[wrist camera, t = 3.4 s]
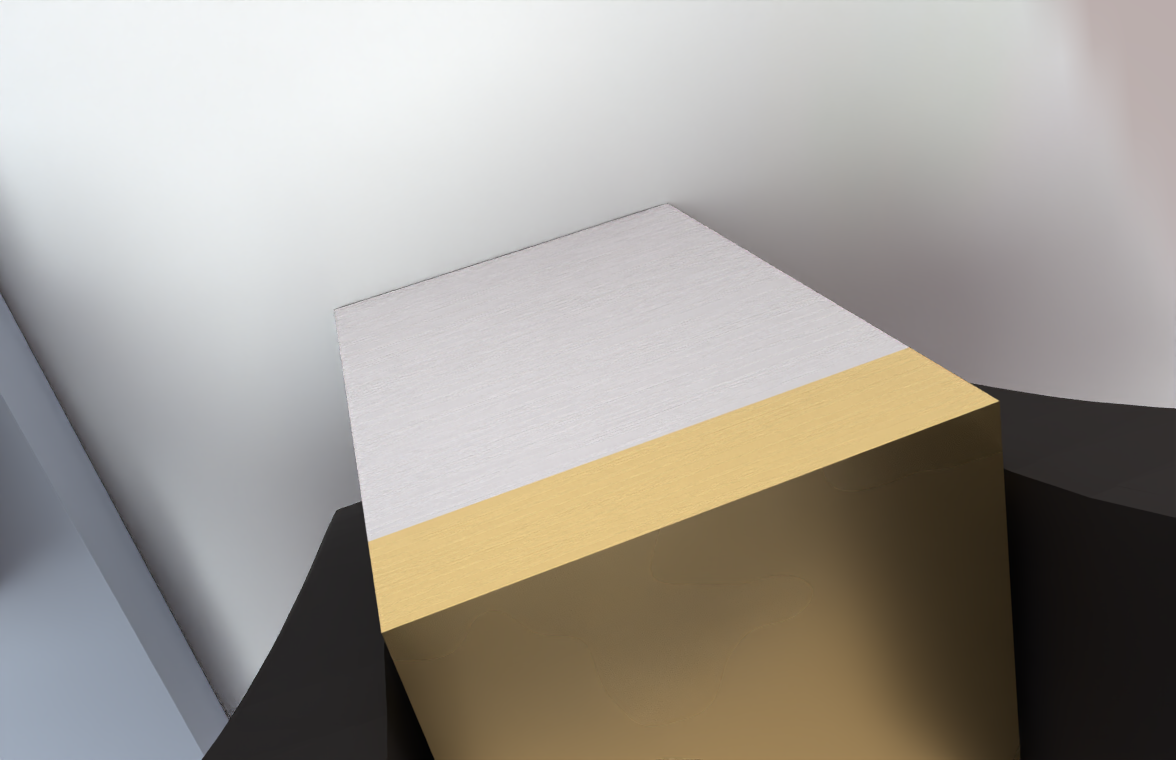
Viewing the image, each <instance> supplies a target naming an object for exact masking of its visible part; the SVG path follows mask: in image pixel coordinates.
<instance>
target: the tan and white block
mask: <svg viewBox="0 0 1176 760" xmlns="http://www.w3.org/2000/svg"><path fill="white" fill-rule="evenodd" d="M334 314H335V321H336V328H337V334H338V341H339V348H340V355H341V362H342V368H343V375H344V382H345V389H346V396H347V402H348V409H349V416H350V423H351V430H352V436H353V443H354V450H355V457H356V464H357V470H358V477H359V484H360V491H361V498H362V504H363V511H364V518H365V525H366V531H367V538H368V545H369V552H370V559H371V565H372V572H373V579H374V586H375V593H376V599H377V606H378V613H379V620H380V627H381V633H382V635H383V638H384V640H385V643H386V645H387V647H388V650H389V652H390V655H391V657H392V659H393V662H394V664H395V666H396V669H397V671H398V674H399V676H400V678H401V681H402V683H403V685H404V688H405V690H406V693H407V695H408V697H409V700H410V702H411V704H412V707H413V709H414V712H415V714H416V716H417V719H418V721H419V724H420V726H421V728H422V731H423V733H424V735H425V738H426V740H427V743H428V745H429V747H430V750H431V752H432V754H433V757H434V759H435V760H1020V745H1019V727H1018V710H1017V693H1016V676H1015V658H1014V641H1013V624H1012V606H1011V589H1010V572H1009V555H1008V537H1007V520H1006V503H1005V485H1004V468H1003V451H1002V434H1001V416H1000V401H999V400H997V399H995V398H994V397H992V396H990V395H989V394H987V393H985V392H984V391H982V390H980V389H978V388H977V387H975V386H973V385H972V384H970V383H968V382H967V381H965V380H963V379H962V378H960V377H958V376H957V375H955V374H953V373H952V372H950V371H948V370H947V369H945V368H943V367H942V366H940V365H938V364H937V363H935V362H933V361H931V360H930V359H928V358H926V357H925V356H923V355H921V354H920V353H918V352H916V351H915V350H913V349H911V348H910V347H908V346H906V345H905V344H903V343H901V342H900V341H898V340H896V339H895V338H893V337H891V336H890V335H888V334H886V333H884V332H883V331H881V330H879V329H878V328H876V327H874V326H873V325H871V324H869V323H868V322H866V321H864V320H863V319H861V318H859V317H858V316H856V315H854V314H853V313H851V312H849V311H848V310H846V309H844V308H842V307H841V306H839V305H837V304H836V303H834V302H832V301H831V300H829V299H827V298H826V297H824V296H822V295H821V294H819V293H817V292H816V291H814V290H812V289H811V288H809V287H807V286H806V285H804V284H802V283H801V282H799V281H797V280H795V279H794V278H792V277H790V276H789V275H787V274H785V273H784V272H782V271H780V270H779V269H777V268H775V267H774V266H772V265H770V264H769V263H767V262H765V261H764V260H762V259H760V258H759V257H757V256H755V255H754V254H752V253H750V252H748V251H747V250H745V249H743V248H742V247H740V246H738V245H737V244H735V243H733V242H732V241H730V240H728V239H727V238H725V237H723V236H722V235H720V234H718V233H717V232H715V231H713V230H712V229H710V228H708V227H706V226H705V225H703V224H701V223H700V222H698V221H696V220H695V219H693V218H691V217H690V216H688V215H686V214H685V213H683V212H681V211H680V210H678V209H676V208H675V207H673V206H671V205H670V204H668V203H667V204H664V205H660V206H657V207H654V208H651V209H648V210H645V211H642V212H639V213H635V214H632V215H629V216H626V217H623V218H620V219H617V220H614V221H610V222H607V223H604V224H601V225H598V226H595V227H592V228H589V229H585V230H582V231H579V232H576V233H573V234H570V235H567V236H564V237H560V238H557V239H554V240H551V241H548V242H545V243H542V244H539V245H535V246H532V247H529V248H526V249H523V250H520V251H517V252H514V253H510V254H507V255H504V256H501V257H498V258H495V259H492V260H489V261H485V262H482V263H479V264H476V265H473V266H470V267H467V268H463V269H460V270H457V271H454V272H451V273H448V274H445V275H442V276H438V277H435V278H432V279H429V280H426V281H423V282H420V283H417V284H413V285H410V286H407V287H404V288H401V289H398V290H395V291H392V292H388V293H385V294H382V295H379V296H376V297H373V298H370V299H367V300H363V301H360V302H357V303H354V304H351V305H348V306H345V307H342V308H338V309H335V310H334Z"/></svg>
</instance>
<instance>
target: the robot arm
mask: <svg viewBox="0 0 1176 760" xmlns="http://www.w3.org/2000/svg"><path fill="white" fill-rule="evenodd" d="M970 384H972V383H970ZM972 385H973V386H975V387H977V388H978V389H980V390H982V391H984V392H985V393H987V394H989V395H990V396H992V397H994V398H995V399H997V400H999V401H1000V416H1001V434H1002V451H1003V468H1004V485H1005V503H1006V520H1007V537H1008V555H1009V572H1010V589H1011V606H1012V624H1013V641H1014V658H1015V676H1016V693H1017V710H1018V727H1019V745H1020V760H1176V409H1175V408H1159V407H1147V406H1136V405H1124V404H1113V403H1102V402H1090V401H1082V400H1074V399H1065V398H1058V397H1050V396H1044V395H1038V394H1031V393H1025V392H1019V391H1013V390H1006V389H1000V388H994V387H988V386H983V385H978V384H972ZM202 760H435V759H434V757H433V754H432V752H431V750H430V747H429V745H428V743H427V740H426V738H425V735H424V733H423V731H422V728H421V726H420V724H419V721H418V719H417V716H416V714H415V712H414V709H413V707H412V704H411V702H410V700H409V697H408V695H407V693H406V690H405V688H404V685H403V683H402V681H401V678H400V676H399V674H398V671H397V669H396V666H395V664H394V662H393V659H392V657H391V655H390V652H389V650H388V647H387V645H386V643H385V640H384V638H383V635H382V633H381V627H380V620H379V613H378V606H377V599H376V593H375V586H374V579H373V572H372V565H371V559H370V552H369V545H368V538H367V531H366V525H365V518H364V511H363V504H362V501H361V502H359V503H356V504H353V505H350V506H347V507H344V508H342V509H339V510H337V511H336V513H335V515H334V517H333V518H332V520H331V522H330V524H329V527H328V529H327V531H326V533H325V536H324V538H323V541H322V543H321V545H320V548H319V550H318V552H317V555H316V557H315V559H314V562H313V564H312V566H311V568H310V571H309V573H308V575H307V577H306V580H305V582H304V584H303V586H302V589H301V591H300V593H299V595H298V597H297V599H296V601H295V603H294V605H293V607H292V609H291V611H290V613H289V615H288V617H287V619H286V621H285V623H284V626H283V628H282V630H281V632H280V634H279V636H278V638H277V639H276V641H275V643H274V645H273V647H272V649H271V651H270V652H269V654H268V656H267V658H266V659H265V661H264V663H263V665H262V666H261V668H260V670H259V672H258V673H257V675H256V677H255V679H254V680H253V682H252V684H251V686H250V687H249V689H248V691H247V693H246V695H245V696H244V698H243V700H242V701H241V703H240V704H239V706H238V708H237V709H236V711H235V712H234V714H233V715H232V717H231V718H230V720H229V721H228V723H227V724H226V726H225V727H224V729H223V730H222V732H221V733H220V735H219V736H218V737H217V739H216V740H215V742H214V743H213V744H212V746H211V747H210V749H209V750H208V751H207V753H206V754H205V756H204V757H203V758H202Z"/></svg>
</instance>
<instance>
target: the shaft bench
mask: <svg viewBox="0 0 1176 760" xmlns="http://www.w3.org/2000/svg"><path fill="white" fill-rule="evenodd" d="M228 721H229V720H228V718H227V716H226V714H225V712H224V710H223V708H222V707H221V705H220V703H219V701H218V699H217V697H216V695H215V693H214V692H213V690H212V688H211V686H210V684H209V682H208V680H207V678H206V677H205V675H204V673H203V671H202V669H201V667H200V665H199V663H198V662H197V660H196V658H195V656H194V654H193V652H192V650H191V649H190V647H189V645H188V643H187V641H186V639H185V637H184V635H183V634H182V632H181V630H180V628H179V626H178V624H177V622H176V620H175V619H174V617H173V615H172V613H171V611H170V609H169V607H168V605H167V604H166V602H165V600H164V598H163V596H162V594H161V592H160V591H159V589H158V587H157V585H156V583H155V581H154V579H153V577H152V576H151V574H150V572H149V570H148V568H147V566H146V564H145V562H144V561H143V559H142V557H141V555H140V553H139V551H138V549H137V547H136V546H135V544H134V542H133V540H132V538H131V536H130V534H129V533H128V531H127V529H126V527H125V525H124V523H123V521H122V519H121V518H120V516H119V514H118V512H117V510H116V508H115V506H114V504H113V503H112V501H111V499H110V497H109V495H108V493H107V491H106V489H105V488H104V486H103V484H102V482H101V480H100V478H99V476H98V474H97V473H96V471H95V469H94V467H93V465H92V463H91V461H90V460H89V458H88V456H87V454H86V452H85V450H84V448H83V446H82V445H81V443H80V441H79V439H78V437H77V435H76V433H75V431H74V430H73V428H72V426H71V424H70V422H69V420H68V418H67V416H66V415H65V413H64V411H63V409H62V407H61V405H60V403H59V402H58V400H57V398H56V396H55V394H54V392H53V390H52V388H51V387H50V385H49V383H48V381H47V379H46V377H45V375H44V373H43V372H42V370H41V368H40V366H39V364H38V362H37V360H36V358H35V357H34V355H33V353H32V351H31V349H30V347H29V345H28V344H27V342H26V340H25V338H24V336H23V334H22V332H21V330H20V329H19V327H18V325H17V323H16V321H15V319H14V317H13V315H12V314H11V312H10V310H9V308H8V306H7V304H6V302H5V300H4V299H3V297H2V295H1V293H0V760H202V758H203V757H204V756H205V754H206V753H207V751H208V750H209V749H210V747H211V746H212V744H213V743H214V742H215V740H216V739H217V737H218V736H219V735H220V733H221V732H222V730H223V729H224V727H225V726H226V724H227V723H228Z"/></svg>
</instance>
